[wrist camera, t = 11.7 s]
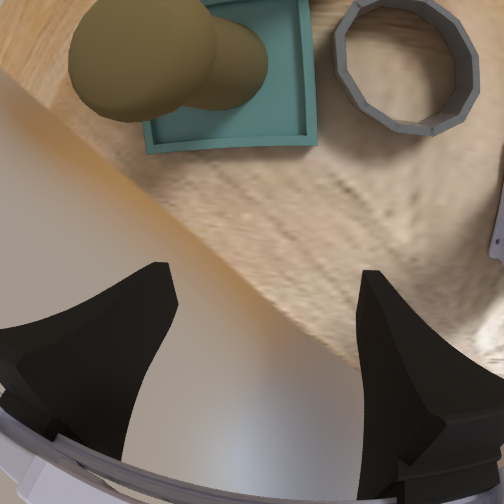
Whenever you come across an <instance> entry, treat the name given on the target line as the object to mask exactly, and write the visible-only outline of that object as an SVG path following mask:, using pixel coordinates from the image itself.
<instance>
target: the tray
mask: <svg viewBox="0 0 504 504" xmlns="http://www.w3.org/2000/svg"><path fill="white" fill-rule="evenodd" d="M200 1H201V2H202V4H203V5H204V6H205V7H206V8H207V9H208V11H209V12H210V14H211V15H213V16H217V17H220V18H224V19H227V20H230V21H234V22H237V23H240V24H243V25H244V26H246V27H248V28H249V29H251V30H252V31H254V32H255V33H256V34H257V35H258V37H259V38H260V39H261V41H262V42H263V43H264V45H265V48H266V52H267V55H268V73H267V76H266V78H265V81H264V83H263V86H262V87H261V89H260V90H259V91H258V92H257V93H256V95H255V96H254V97H253V98H252V99H250V100H249V101H247V102H246V103H244V104H243V105H241V106H240V107H236V108H233V109H229V110H226V111H210V110H204V109H198V108H191V107H185V106H181V107H179V108H178V109H177V110H176V111H174V112H171V113H169V114H166V115H164V116H161V117H158V118H156V119H153V120H150V121H144V122H142V124H143V131H144V138H145V145H146V152H147V155H150V154H158V153H167V152H177V151H188V150H200V149H213V148H229V147H251V146H317V111H316V88H315V70H314V55H313V42H312V30H311V19H310V9H309V0H200Z"/></svg>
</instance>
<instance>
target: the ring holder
mask: <svg viewBox="0 0 504 504" xmlns="http://www.w3.org/2000/svg"><path fill="white" fill-rule="evenodd" d="M381 6H382V7H389V8H396V9H402V10H408V11H413V12H414V13H416V14H417V15H419V16H420V17H421V18H423V19H424V20H426V21H427V22H428V23H430V24H431V25H433V26H434V27H435V28H437V29H438V30H439V31H440V33H441V35H442V36H443V38H444V40H445V41H446V43H447V45H448V47H449V49H450V50H451V52H452V54H453V56H454V58H455V79H456V88H455V89H454V91H453V93H452V95H451V97H450V98H449V100H448V102H447V104H446V105H445V107H444V109H443V111H441V112H439V113H437V114H435V115H433V116H431V117H428V118H426V119H424V120H422V121H420V122H418V123H416V122H407V121H398V120H392V119H391V118H389V117H388V116H386V115H385V114H383V113H382V112H380V111H379V110H377V109H376V108H374V107H373V106H371V105H370V104H368V103H367V102H366V100H365V98H364V97H363V95H362V93H361V92H360V90H359V88H358V87H357V85H356V83H355V82H354V80H353V79H352V77H351V75H350V74H349V72H348V71H347V59H346V45H345V34H346V32H347V30H348V29H349V27H350V25H351V24H352V22H353V20H354V18H355V17H358V16H360V15H362V14H364V13H367V12H369V11H372V10H374V9H376V8H379V7H381ZM332 45H333V59H334V75H335V76H336V78H337V80H338V81H339V83H340V84H341V86H342V87H343V89H344V91H345V92H346V94H347V95H348V97H349V99H350V100H351V102H352V104H353V105H354V107H355V108H357V109H359V110H360V111H362V112H363V113H365V114H367V115H368V116H370V117H371V118H373V119H374V120H376V121H377V122H379V123H380V124H382V125H383V126H385V127H386V128H388V129H390V130H392V131H394V132H396V133H406V134H416V135H424V136H432V137H434V136H436V135H438V134H440V133H442V132H444V131H446V130H448V129H450V128H452V127H454V126H456V125H458V124H460V123H462V122H464V120H465V119H466V117H467V115H468V113H469V112H470V110H471V108H472V106H473V104H474V102H475V101H476V99H477V97H478V95H479V93H480V72H479V56H478V53H477V51H476V49H475V47H474V46H473V44H472V42H471V40H470V38H469V36H468V34H467V33H466V31H465V29H464V27H463V26H462V24H461V22H460V21H459V19H457V18H456V17H455V16H454V15H452V14H451V13H450V12H448V11H447V10H446V9H444V8H443V7H442V6H440V5H439V4H438V3H436V2H435V1H434V0H355V1H353V3H352V4H351V6H350V8H349V9H348V11H347V13H346V14H345V16H344V18H343V20H342V21H341V23H340V25H339V26H338V28H337V30H336V31H335V34H334V36H333V39H332Z"/></svg>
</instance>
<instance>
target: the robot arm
mask: <svg viewBox="0 0 504 504" xmlns="http://www.w3.org/2000/svg"><path fill="white" fill-rule="evenodd" d="M497 239H498V241H497V242H496V240H497ZM488 254H489V256H490V257H491V258H493V259H499V260H500V261H501V263H502V264H503V265H504V183H503V189H502V195H501V200H500V205H499V210H498V215H497V219H496V224H495V228H494V232H493V236H492V240H491V243H490V247H489V250H488ZM177 308H178V300H177V297H176V292H175V288H174V285H173V280H172V276H171V272H170V268H169V264H168V263H166V262H165V263H164V262H154V263H151V264H149V265H147V266H145V267H143V268H142V269H140V270H138V271H137V272H135V273H133V274H132V275H130V276H129V277H127V278H125V279H123V280H122V281H120V282H118V283H117V284H115V285H114V286H112V287H110V288H108V289H107V290H105V291H103V292H101V293H100V294H98V295H96V296H94V297H93V298H91V299H89V300H87V301H85V302H83V303H81V304H79V305H77V306H75V307H72V308H70V309H68V310H66V311H63V312H61V313H58V314H55V315H53V316H50V317H48V318H45V319H42V320H39V321H35V322H32V323H28V324H24V325H20V326H16V327H11V328H5V329H0V383H1V384H2V385H3V387H4V388H5V389H6V390H5V391H4V393H3V394H2V393H1V392H0V468H1V469H2V470H3V471H4V472H5V473H6V474H7V475H8V476H10V477H11V478H12V479H13V480H14V481H15V482H16V483H17V484H18V487H17V493H18V496H19V497H20V498H22V499H23V500H24V501H25V502H26V503H28V504H148V503H145V502H142V501H139V500H137V499H134V498H131V497H129V496H127V495H124V494H122V493H120V492H118V491H116V490H115V489H114V488H112V487H111V486H109V485H108V484H107V483H106V482H105V481H104V480H103V479H101V478H99V477H97V476H96V475H94V474H97V475H99V476H101V477H103V478H105V479H108V480H110V481H112V482H115V483H117V484H119V485H122V486H124V487H127V488H129V489H132V490H134V491H137V492H140V493H143V494H145V495H148V496H151V497H154V498H157V499H160V500H163V501H167V502H170V503H173V504H504V467H502V468H500V469H498V466H497V461H499V460H500V459H501V456H502V455H501V451H500V447H501V446H502V445H503V443H504V379H503V378H501V377H499V376H497V375H495V374H493V373H492V372H490V371H488V370H487V369H485V368H483V367H482V366H480V365H478V364H477V363H475V362H474V361H472V360H471V359H469V358H468V357H466V356H465V355H463V354H462V353H461V352H459V351H458V350H457V349H455V348H454V347H453V346H451V345H450V344H449V343H448V342H446V341H445V340H444V339H443V338H442V337H441V336H439V335H438V334H437V333H436V332H435V331H434V330H433V329H431V328H430V327H429V326H428V325H427V324H426V323H425V322H424V321H423V320H422V319H421V318H420V317H419V316H418V315H417V314H416V313H415V312H414V310H413V309H412V308H411V307H410V306H409V305H408V304H407V303H406V302H405V300H404V299H403V298H402V297H401V296H400V295H399V293H398V292H397V291H396V290H395V289H394V287H393V286H392V285H391V284H390V283H389V281H388V280H387V279H386V278H385V276H384V275H383V274H382V273H381V272H380V271H379V270H363V272H362V279H361V286H360V293H359V299H358V305H357V311H356V336H357V345H358V352H359V359H360V366H361V373H362V380H363V389H364V436H363V451H362V463H361V472H360V480H359V487H358V494H357V500H356V501H306V500H290V499H278V498H268V497H260V496H252V495H245V494H239V493H233V492H228V491H222V490H217V489H212V488H208V487H203V486H199V485H195V484H191V483H186V482H183V481H179V480H175V479H172V478H168V477H165V476H162V475H158V474H155V473H152V472H149V471H146V470H143V469H140V468H137V467H134V466H132V465H129V464H126V463H124V462H121V458H122V452H123V447H124V441H125V437H126V433H127V429H128V425H129V421H130V417H131V414H132V410H133V407H134V404H135V401H136V398H137V395H138V392H139V390H140V387H141V384H142V381H143V379H144V376H145V374H146V372H147V370H148V367H149V366H150V364H151V362H152V360H153V358H154V356H155V355H156V353H157V351H158V349H159V347H160V345H161V343H162V341H163V340H164V338H165V336H166V334H167V332H168V330H169V328H170V326H171V324H172V321H173V319H174V316H175V313H176V311H177ZM87 470H88V471H90V472H92V473H94V474H92V473H90V472H88V471H87Z"/></svg>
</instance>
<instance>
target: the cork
mask: <svg viewBox="0 0 504 504" xmlns="http://www.w3.org/2000/svg"><path fill="white" fill-rule="evenodd" d="M68 71H69V74H70V78H71V82H72V86H73V88H74V90H75V91H76V93H77V94H78V96H79V97H80V99H81V100H82V102H84V103H85V104H86V105H87V106H88V107H89V108H91V109H92V110H93V111H94V112H96V113H97V114H98V115H100V116H102V117H105V118H109V119H112V120H116V121H120V122H126V123H128V122H144V121H150V120H153V119H156V118H158V117H161V116H164V115H166V114H169V113H171V112H174V111H176V110H177V109H178V108H179V107H181V106H185V107H191V108H198V109H204V110H210V111H226V110H229V109H233V108H236V107H240V106H241V105H243V104H244V103H246V102H247V101H249V100H250V99H252V98H253V97H254V96H255V95H256V93H257V92H258V91H259V90H260V89H261V87H262V86H263V83H264V81H265V78H266V76H267V73H268V55H267V52H266V48H265V45H264V43H263V42H262V41H261V39H260V38H259V37H258V35H257V34H256V33H255V32H254V31H252V30H251V29H249V28H248V27H246V26H244V25H243V24H240V23H237V22H234V21H230V20H227V19H224V18H220V17H217V16H213V15H211V14H210V12H209V11H208V9H207V8H206V7H205V6H204V5H203V4H202V2H201V1H200V0H98V1H97V2H96V3H95V4H94V5H93V6H92V7H91V8H90V9H89V10H88V11H87V13H86V14H85V15H84V16H83V18H82V19H81V21H80V23H79V25H78V27H77V28H76V30H75V32H74V34H73V38H72V41H71V45H70V49H69V61H68Z"/></svg>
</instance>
